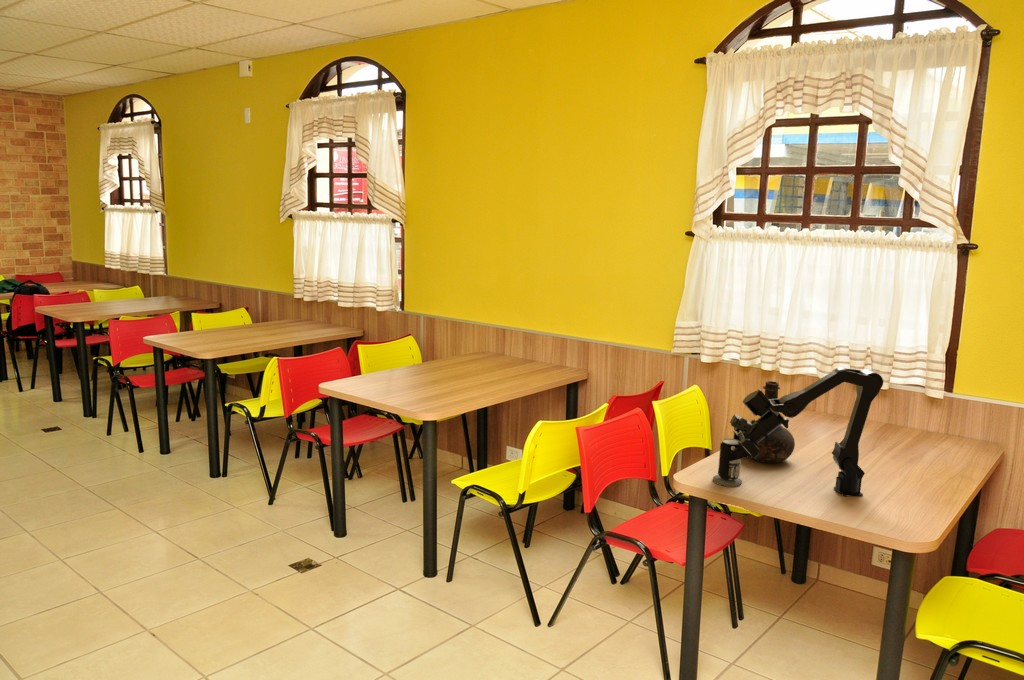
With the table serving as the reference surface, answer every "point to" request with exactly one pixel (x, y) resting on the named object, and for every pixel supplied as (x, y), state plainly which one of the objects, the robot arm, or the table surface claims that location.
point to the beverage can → (727, 468)
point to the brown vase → (775, 435)
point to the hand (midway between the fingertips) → (725, 457)
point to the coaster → (727, 481)
